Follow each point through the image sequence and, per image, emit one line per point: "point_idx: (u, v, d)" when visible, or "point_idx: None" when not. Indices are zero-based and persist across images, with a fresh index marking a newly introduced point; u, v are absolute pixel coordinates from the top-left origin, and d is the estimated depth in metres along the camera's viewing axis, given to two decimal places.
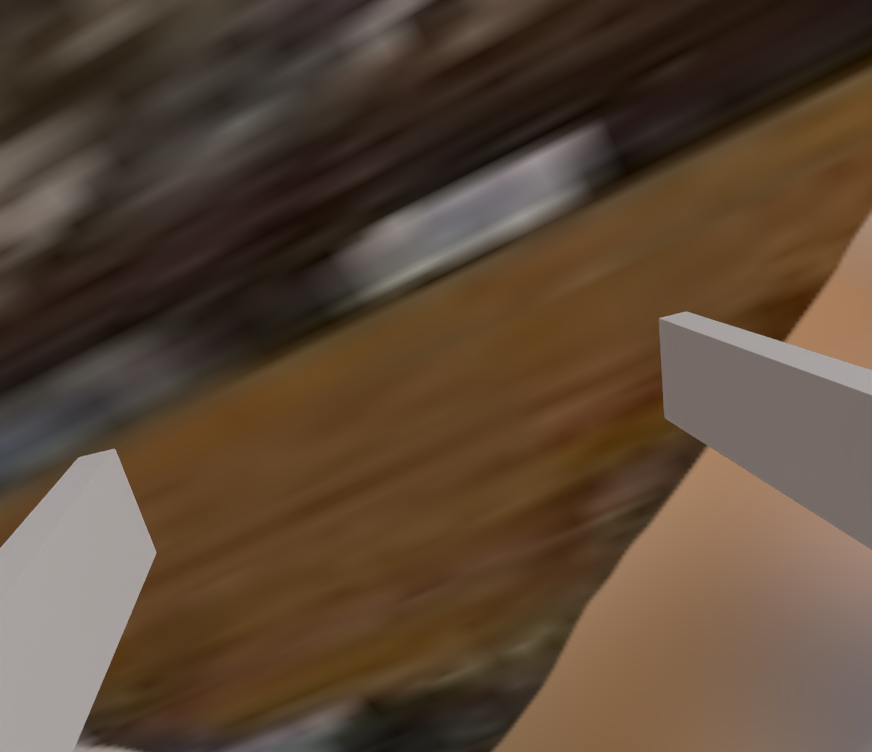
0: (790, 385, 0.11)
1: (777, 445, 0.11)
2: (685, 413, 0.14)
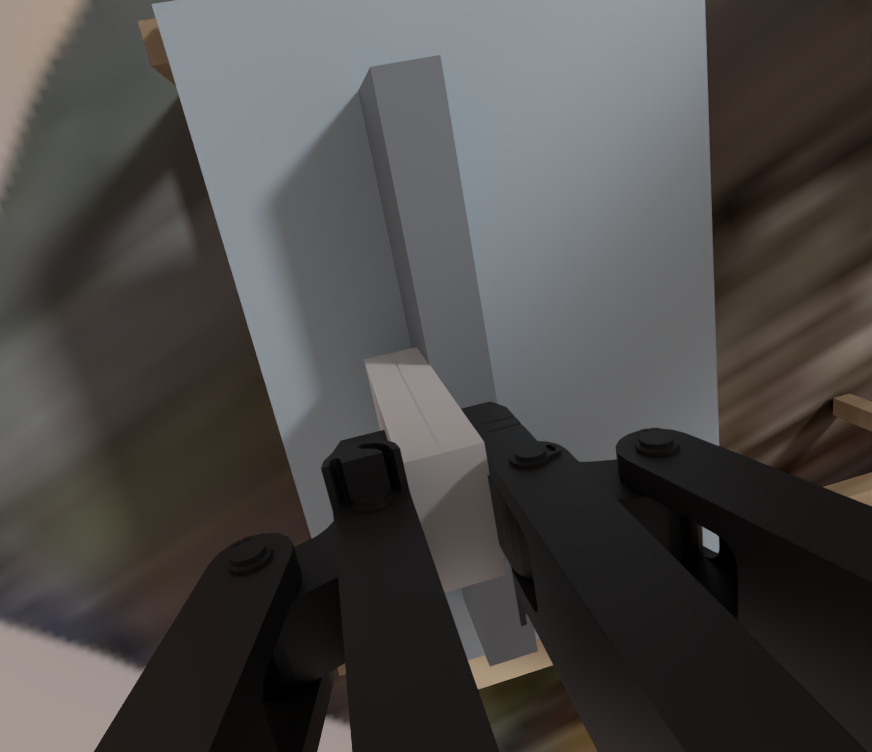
0: None
1: None
2: None
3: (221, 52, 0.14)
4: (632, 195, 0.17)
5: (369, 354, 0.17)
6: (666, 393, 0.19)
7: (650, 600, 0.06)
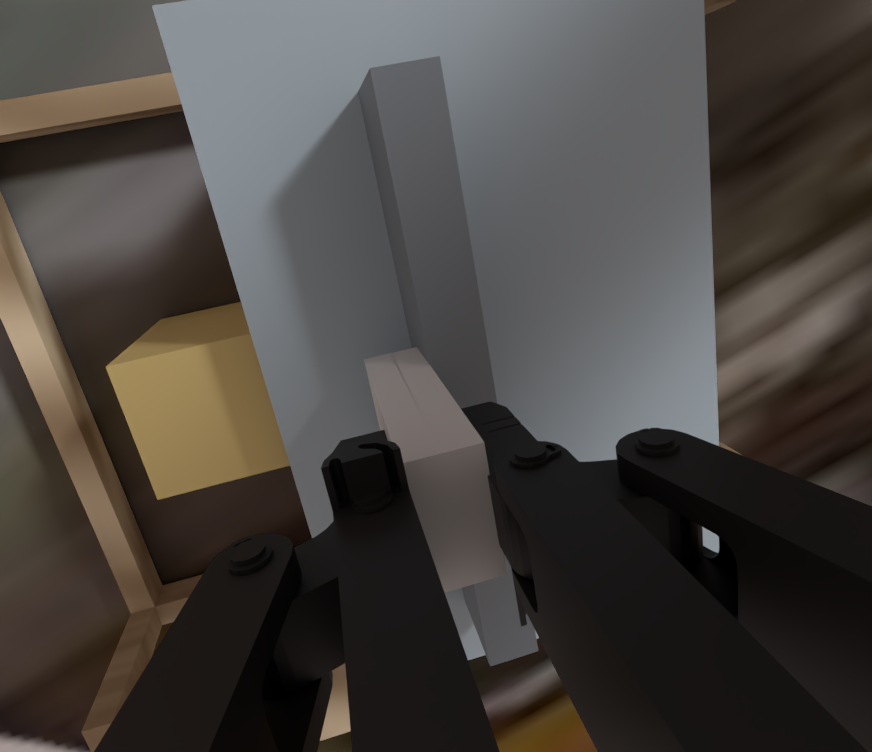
0: None
1: None
2: None
3: (222, 54, 0.14)
4: (632, 195, 0.17)
5: (369, 355, 0.17)
6: (665, 393, 0.19)
7: (650, 600, 0.06)
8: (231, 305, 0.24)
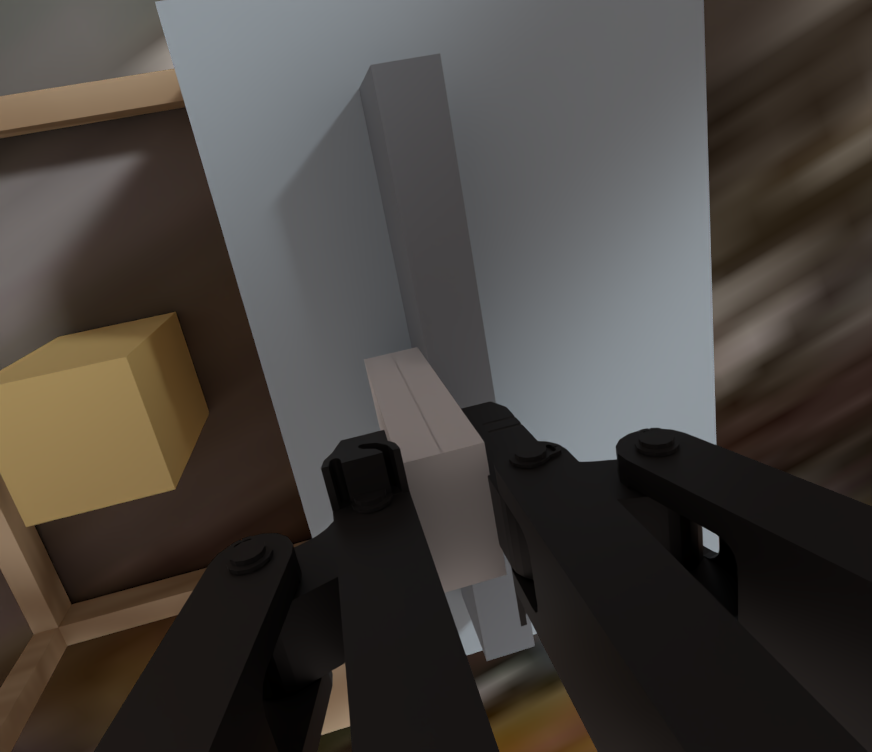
0: None
1: None
2: None
3: (224, 50, 0.14)
4: (631, 193, 0.17)
5: (369, 350, 0.17)
6: (663, 391, 0.20)
7: (650, 600, 0.06)
8: (130, 323, 0.23)
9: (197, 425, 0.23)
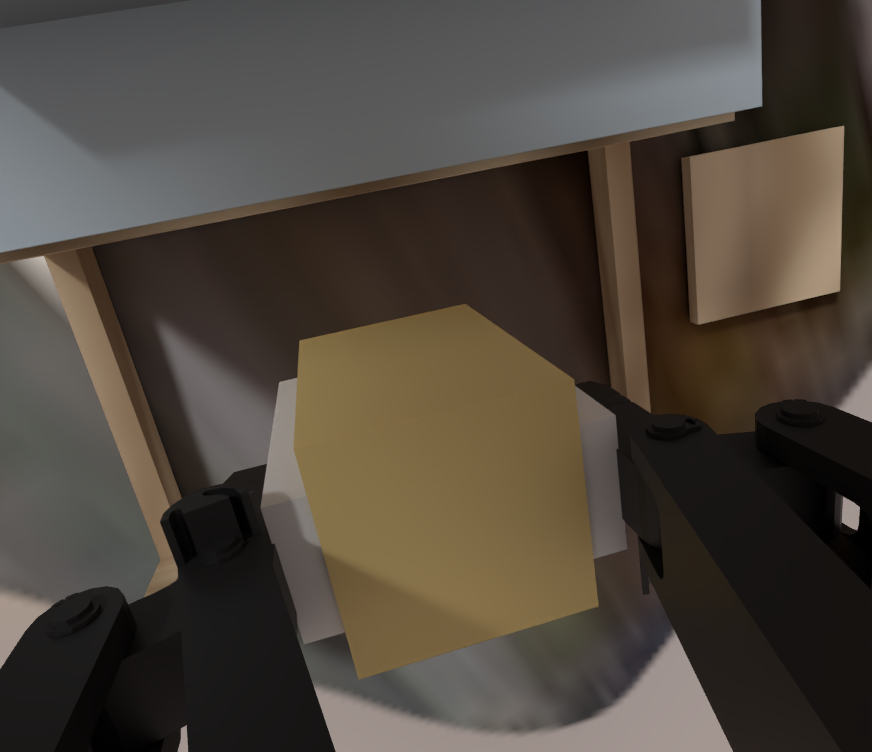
0: None
1: None
2: None
3: None
4: None
5: (285, 51, 0.13)
6: None
7: (787, 571, 0.06)
8: None
9: (475, 324, 0.14)
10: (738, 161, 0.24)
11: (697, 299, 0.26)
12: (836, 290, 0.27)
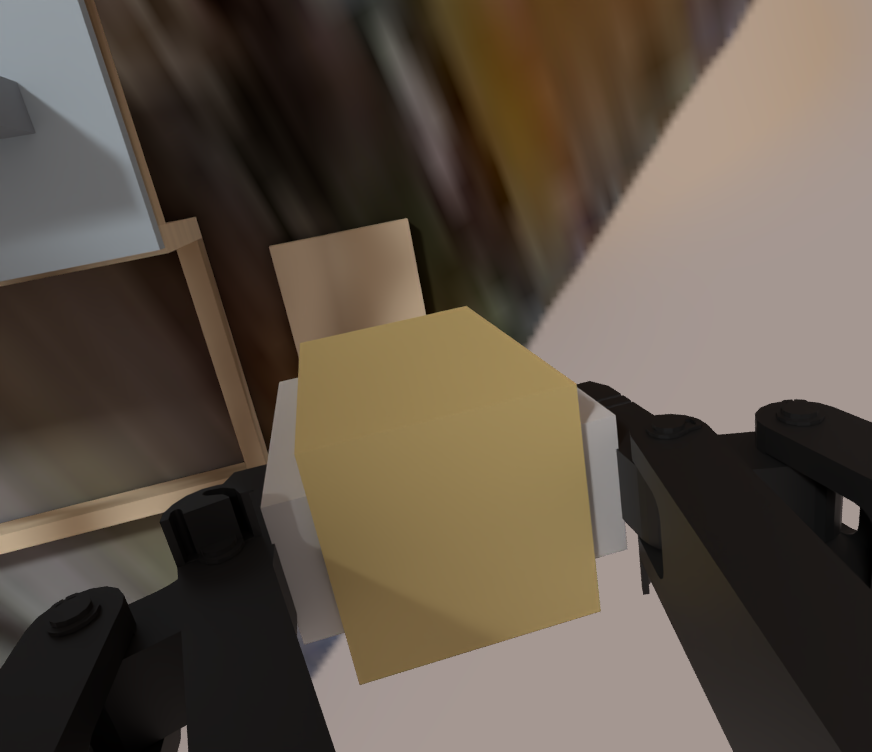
0: None
1: None
2: None
3: None
4: None
5: None
6: None
7: (787, 571, 0.06)
8: None
9: (476, 326, 0.14)
10: (315, 249, 0.30)
11: None
12: None
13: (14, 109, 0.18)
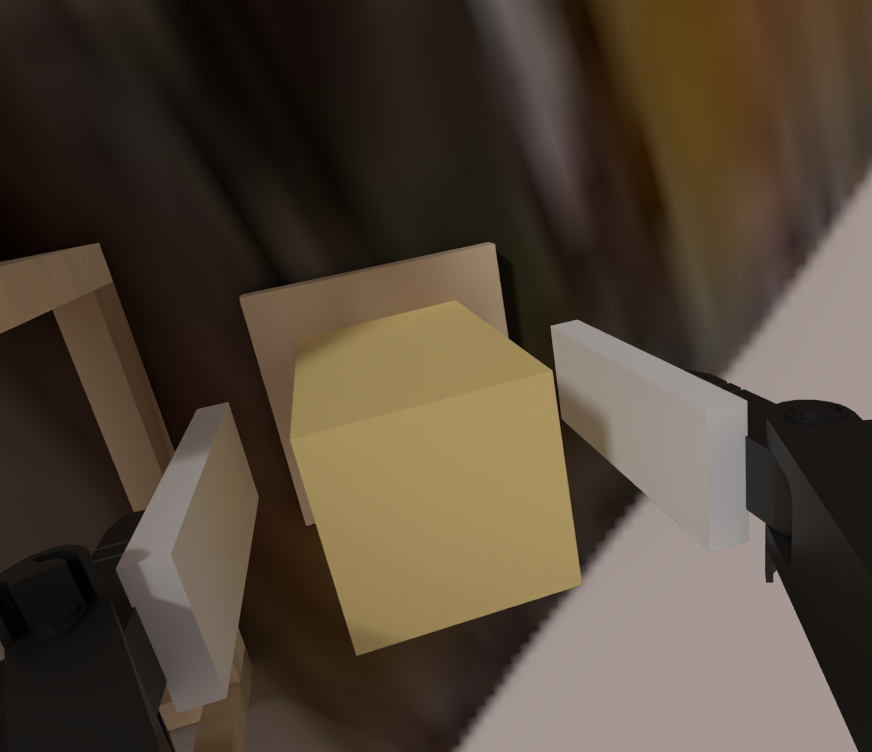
0: (635, 389, 0.12)
1: (632, 444, 0.12)
2: (574, 414, 0.15)
3: None
4: None
5: None
6: None
7: None
8: None
9: (464, 319, 0.14)
10: (325, 301, 0.16)
11: (297, 493, 0.17)
12: None
13: None
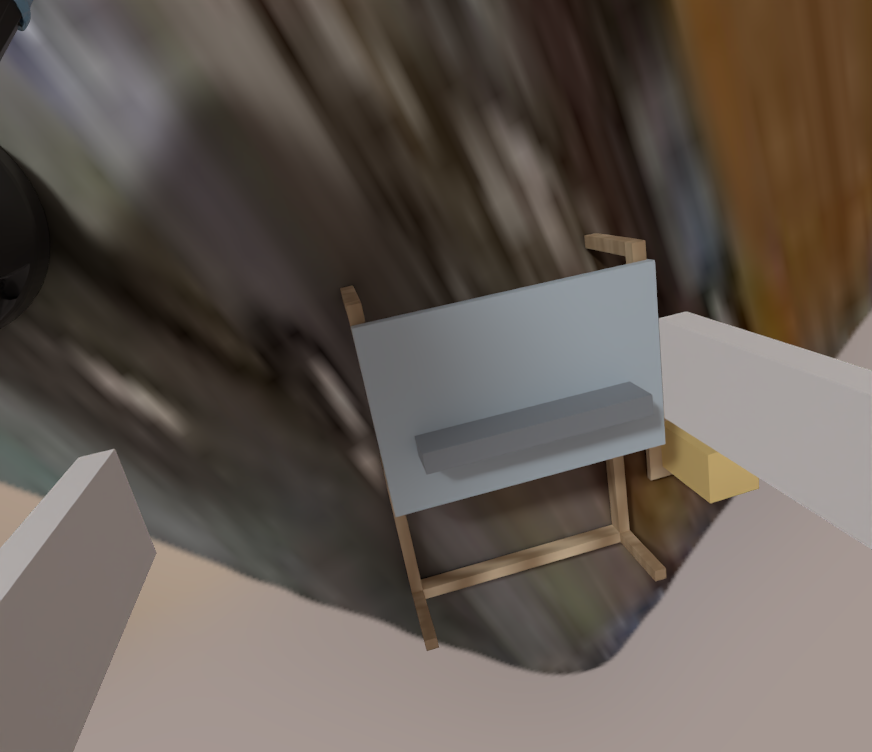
0: (790, 385, 0.11)
1: (777, 445, 0.11)
2: (685, 413, 0.14)
3: (408, 497, 0.42)
4: (455, 343, 0.39)
5: None
6: (546, 312, 0.40)
7: None
8: None
9: None
10: None
11: (650, 469, 0.55)
12: None
13: None
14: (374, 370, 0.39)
